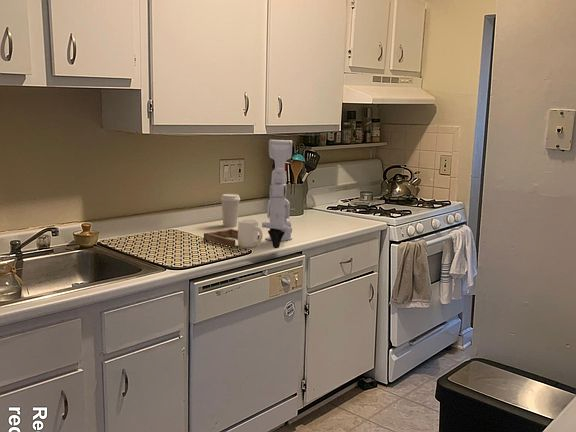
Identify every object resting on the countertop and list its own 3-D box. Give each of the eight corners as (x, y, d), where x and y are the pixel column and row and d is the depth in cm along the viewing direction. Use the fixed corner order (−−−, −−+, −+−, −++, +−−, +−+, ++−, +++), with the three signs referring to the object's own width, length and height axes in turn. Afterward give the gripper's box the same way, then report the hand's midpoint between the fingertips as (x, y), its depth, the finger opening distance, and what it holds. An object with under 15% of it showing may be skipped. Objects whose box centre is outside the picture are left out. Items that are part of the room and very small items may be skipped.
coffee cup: (216, 224, 284) (216, 194, 282) (233, 223, 290) (233, 193, 287) (226, 228, 277) (227, 196, 274) (243, 226, 283) (244, 195, 280)
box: (231, 235, 261) (231, 228, 261) (260, 242, 250) (260, 235, 249) (203, 240, 249) (203, 233, 249) (232, 247, 238) (232, 240, 237)
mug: (268, 247, 242) (269, 222, 240) (254, 250, 235) (255, 225, 233) (247, 242, 249) (247, 218, 247) (233, 245, 243) (234, 220, 241)
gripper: (257, 212, 232) (256, 245, 234) (284, 218, 223) (282, 252, 225) (269, 210, 237) (268, 243, 240) (296, 216, 228) (294, 249, 230)
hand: (276, 247), depth 233 cm, fingers closed
